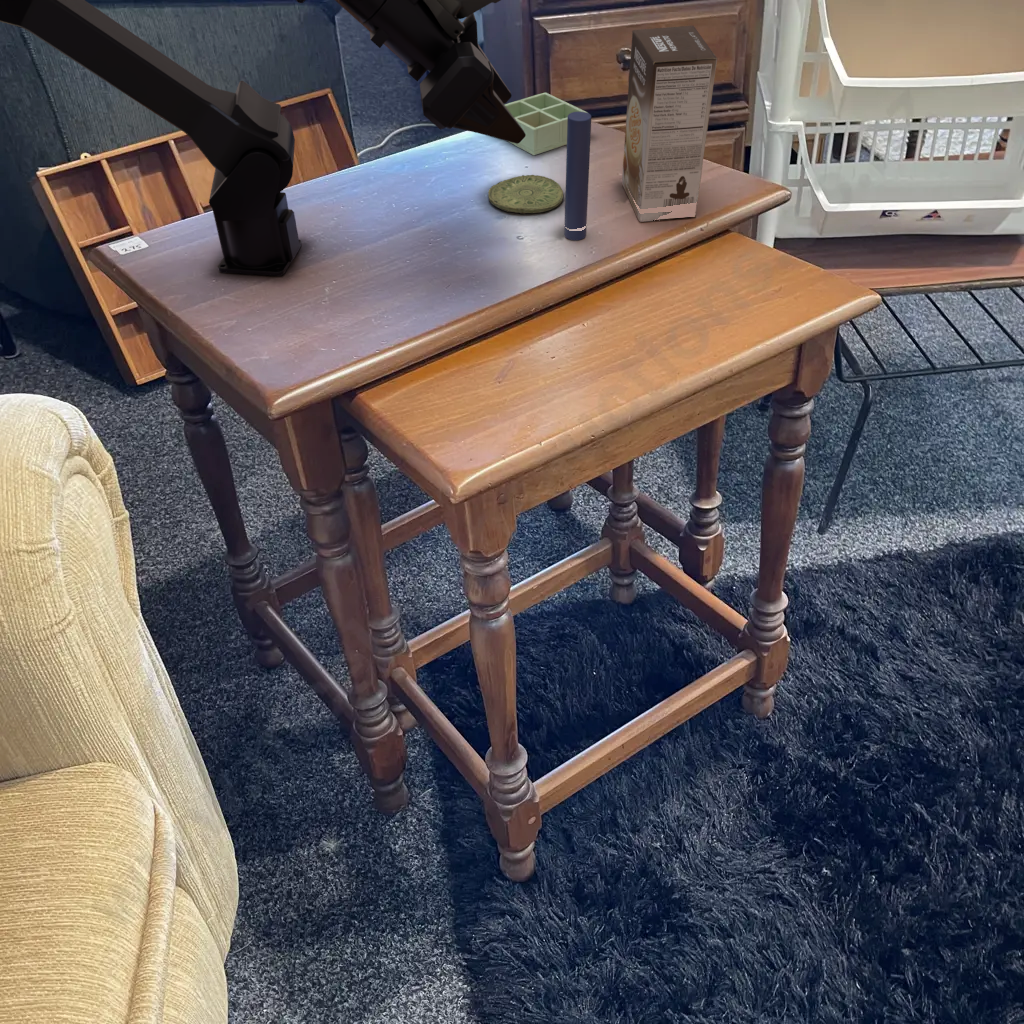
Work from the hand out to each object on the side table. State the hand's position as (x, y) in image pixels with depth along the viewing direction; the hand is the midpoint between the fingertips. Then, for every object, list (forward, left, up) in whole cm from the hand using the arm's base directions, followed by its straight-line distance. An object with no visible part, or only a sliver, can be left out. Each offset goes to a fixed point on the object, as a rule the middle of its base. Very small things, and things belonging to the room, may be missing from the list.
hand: (515, 118), depth 90 cm
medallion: (0, +9, -12) cm, 15 cm away
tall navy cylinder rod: (+6, +2, -12) cm, 14 cm away
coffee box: (+14, +10, -12) cm, 21 cm away
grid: (-1, +25, -12) cm, 28 cm away
